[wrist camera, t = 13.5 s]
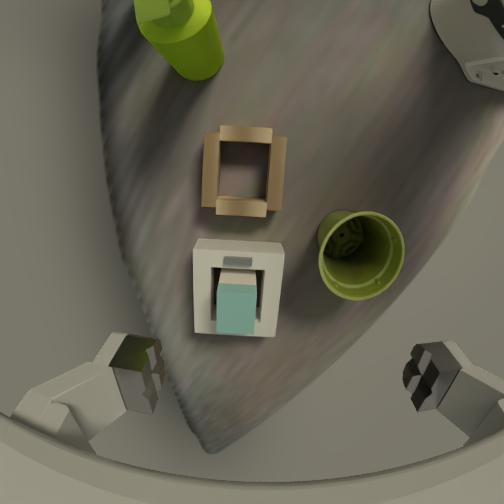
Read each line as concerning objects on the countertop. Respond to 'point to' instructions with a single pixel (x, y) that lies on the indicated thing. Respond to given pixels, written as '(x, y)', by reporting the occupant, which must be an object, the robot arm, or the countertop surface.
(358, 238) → the plant pot
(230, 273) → the plug
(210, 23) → the soap dispenser
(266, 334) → the port
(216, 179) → the brown wooden square frame
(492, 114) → the countertop surface
